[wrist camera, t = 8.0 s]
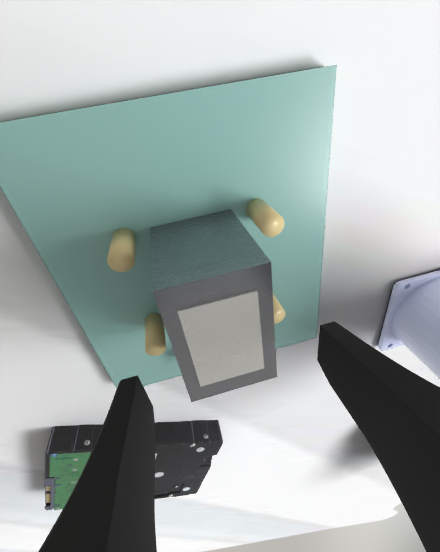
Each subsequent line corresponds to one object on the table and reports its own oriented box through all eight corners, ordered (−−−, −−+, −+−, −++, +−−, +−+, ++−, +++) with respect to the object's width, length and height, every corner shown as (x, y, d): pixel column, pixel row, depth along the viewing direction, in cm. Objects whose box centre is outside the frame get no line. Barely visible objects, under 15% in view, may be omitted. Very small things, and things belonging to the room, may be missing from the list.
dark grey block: (230, 209, 16) (272, 263, 11) (243, 305, 19) (277, 378, 14) (149, 227, 15) (152, 293, 10) (179, 322, 19) (191, 403, 14)
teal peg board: (325, 66, 14) (372, 59, 11) (310, 329, 24) (333, 361, 21) (-22, 125, 12) (-73, 135, 9) (120, 381, 22) (116, 424, 19)
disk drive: (218, 412, 29) (51, 421, 24) (224, 440, 26) (41, 456, 21) (194, 466, 33) (51, 483, 28) (198, 494, 31) (43, 517, 26)
